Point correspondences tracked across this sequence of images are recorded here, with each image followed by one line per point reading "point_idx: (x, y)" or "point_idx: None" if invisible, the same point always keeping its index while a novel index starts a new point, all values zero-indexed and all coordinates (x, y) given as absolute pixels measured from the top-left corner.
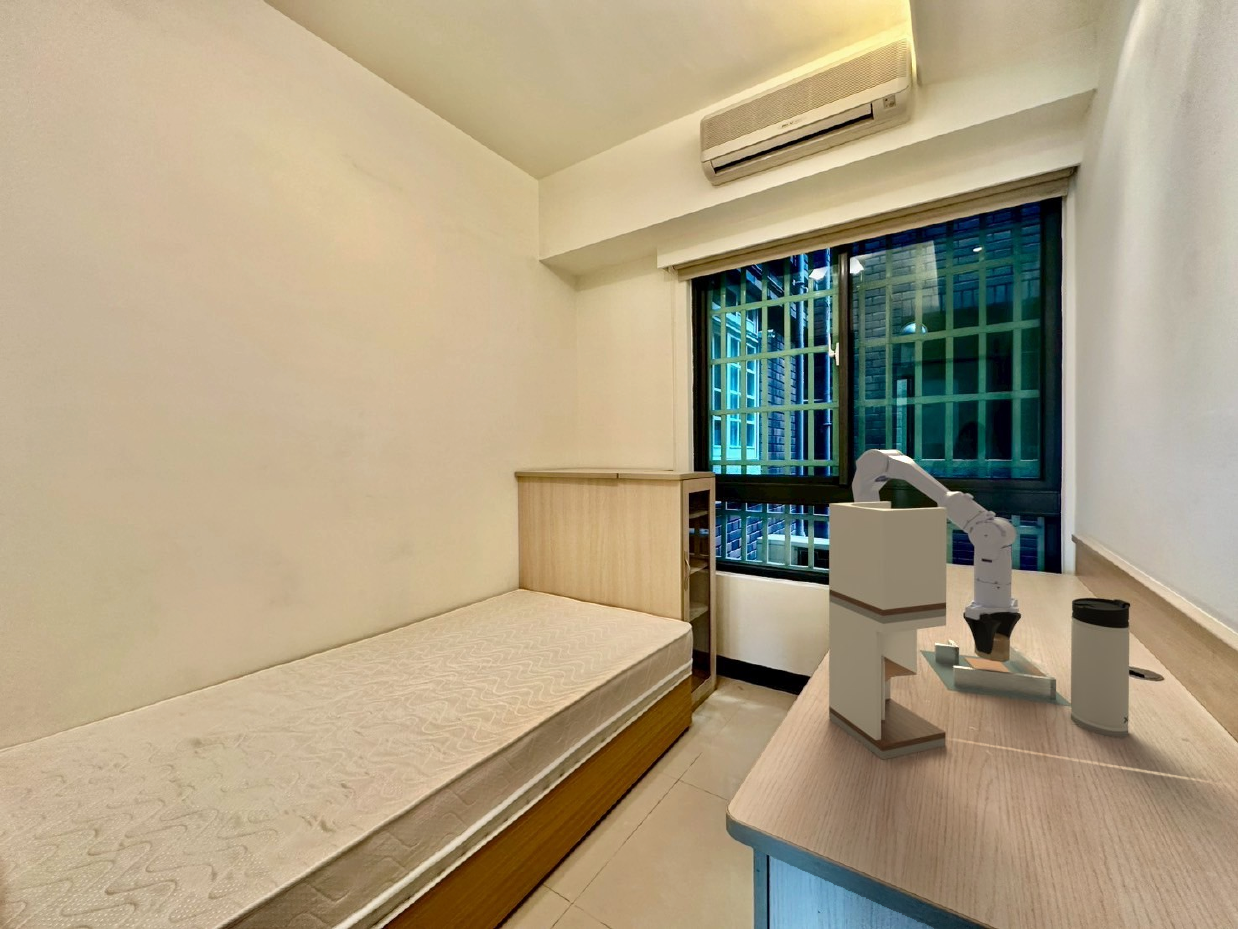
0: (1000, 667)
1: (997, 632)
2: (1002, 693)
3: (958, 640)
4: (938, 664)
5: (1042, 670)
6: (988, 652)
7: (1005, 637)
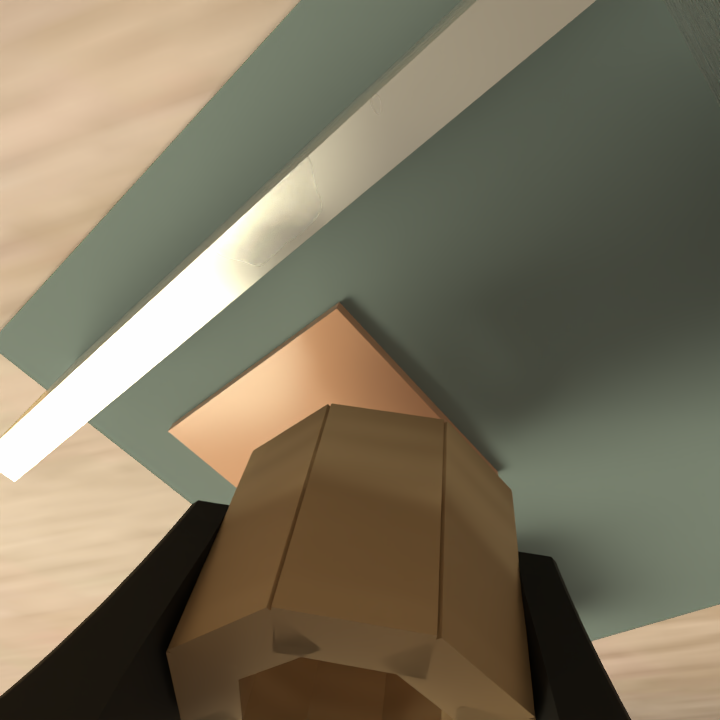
0: (283, 398)
1: (162, 705)
2: None
3: (56, 610)
4: (577, 609)
5: (450, 73)
6: (558, 577)
7: (243, 643)
